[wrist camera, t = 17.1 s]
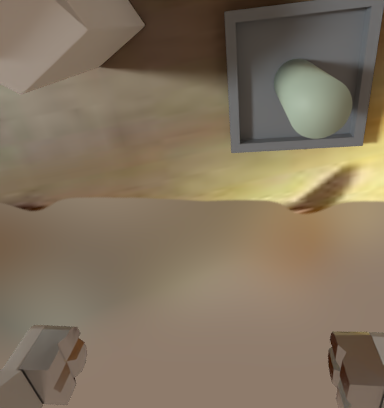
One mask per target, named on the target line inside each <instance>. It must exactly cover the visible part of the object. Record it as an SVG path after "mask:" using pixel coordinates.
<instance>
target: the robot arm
mask: <svg viewBox="0 0 384 408" xmlns="http://www.w3.org/2000/svg"><path fill="white" fill-rule="evenodd" d="M79 335H80V332H79V329H78V328H77V327H67V326H48V325H34V326H32V327H31V328H30V329H29V330H28V331H27V333H26V334H25V336H24V337H23V339H22V340H21V342H20V343H19V345H18V346H17V348H16V349H15V351H14V352H13V354H12V356H11V357H10V358H9V360H8V361H7V363H6V364H5V366H4V368H3V369H0V408H41V407H42V406H43V404H56V405H67V404H68V402H69V400H70V398H71V395H72V393H73V391H74V388H75V386H76V380H75V377H76V376H77V375H78V374H79V373H80V372H82V370H83V368H84V365H85V363H86V357H87V348H86V345H85V342H83V341H82V340H81V339H79ZM330 341H331V345H332V347H331V348H330V349H329V353H328V363H329V364H328V365H329V372H330V377H331V380H332V383H333V384H334V385H335V386H336V387H337V394H336V401H337V405H338V408H384V333H376V332H372V333H370V332H369V333H368V332H332V333H331V336H330Z"/></svg>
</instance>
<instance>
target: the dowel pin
mask: <svg viewBox="0 0 384 408" xmlns="http://www.w3.org/2000/svg"><path fill="white" fill-rule="evenodd" d="M274 89H275V92H276V94H277V96H278V98H279V100H280V102H281V104H282V107H283V109H284V111H285V113H286V115H287V117H288V119H289V121H290V123H291V125H292V127H293V128H294V130H295V131H296V132H297V133H299V134H300V135H302V136H304V137H307V138H312V139H319V138H325V137H328V136H330V135H332V134H334V133H335V132H337V131H338V130H339V129H341V128H342V127H343V125H344V124H345V123H346V122H347V120H348V118H349V116H350V113H351V110H352V97H351V94H350V91H349V90H348V88H347V87H346V86H345V85H344V84H343V83H342V82H340V81H339V80H337V79H336V78H334V77H333V76H331V75H329V74H328V73H326V72H325V71H323V70H322V69H320V68H318V67H317V66H315V65H314V64H312V63H311V62H309V61H307V60H305V59H292V60H289V61H287V62H286V63H284V64H283V65H282V66H281V67H280V68H279V69H278V71H277V73H276V75H275V78H274Z"/></svg>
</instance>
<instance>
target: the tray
mask: <svg viewBox="0 0 384 408" xmlns="http://www.w3.org/2000/svg"><path fill="white" fill-rule="evenodd" d="M383 8H384V0H313V1H305V2H297V3H289V4H282V5H274V6H266V7H258V8H250V9H242V10H234V11H226V12H224V16H225V35H226V55H227V75H228V95H229V115H230V134H231V153H240V152H258V151H276V150H294V149H312V148H330V147H348V146H363V139H364V133H365V126H366V120H367V113H368V106H369V100H370V93H371V87H372V80H373V74H374V67H375V61H376V54H377V48H378V41H379V35H380V28H381V22H382V15H383ZM292 59H305V60H307V61H309V62H311V63H312V64H314V65H315V66H317V67H318V68H320V69H322V70H323V71H325V72H326V73H328V74H329V75H331V76H333V77H334V78H336V79H337V80H339V81H340V82H342V83H343V84H344V85H345V86H346V87H347V88H348V90H349V91H350V94H351V97H352V110H351V113H350V116H349V118H348V120H347V122H346V123H345V124H344V125H343V127H342V128H341V129H339V130H338V131H337V132H335V133H334V134H332V135H330V136H328V137H325V138H319V139H312V138H307V137H304V136H302V135H300V134H299V133H297V132H296V131H295V130H294V128H293V127H292V125H291V123H290V121H289V119H288V117H287V115H286V113H285V111H284V109H283V107H282V104H281V102H280V100H279V98H278V96H277V94H276V92H275V89H274V78H275V75H276V73H277V71H278V69H279V68H280V67H281V66H282V65H283V64H284V63H286V62H287V61H289V60H292Z"/></svg>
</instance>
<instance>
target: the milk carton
mask: <svg viewBox="0 0 384 408" xmlns="http://www.w3.org/2000/svg"><path fill="white" fill-rule="evenodd" d="M144 26H145V24H144V23H143V21H142V20H141V18H140V17H139V15H138V14H137V12H136V11H135V9H134V8H133V7H132V5H131V4H130V2H129V1H128V0H0V84H2V85H4V86H6V87H7V88H9V89H11V90H13V91H15V92H17V93H19V94H24V93H27V92H30V91H32V90H35V89H38V88H41V87H44V86H47V85H50V84H52V83H55V82H58V81H61V80H64V79H67V78H69V77H72V76H75V75H78V74H81V73H84V72H87V71H89V70H92V69H95V68H98V67H100V66H101V65H102V64H103V63H104V62H105V61H107V60H108V59H109V58H110V57H111V56H112V55H113V54H114V53H116V52H117V51H118V50H119V49H120V48H121V47H122V46H123V45H125V44H126V43H127V42H128V41H129V40H130V39H131V38H132V37H134V36H135V35H136V34H137V33H138V32H139V31H140V30H141V29H142V28H143V27H144Z"/></svg>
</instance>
